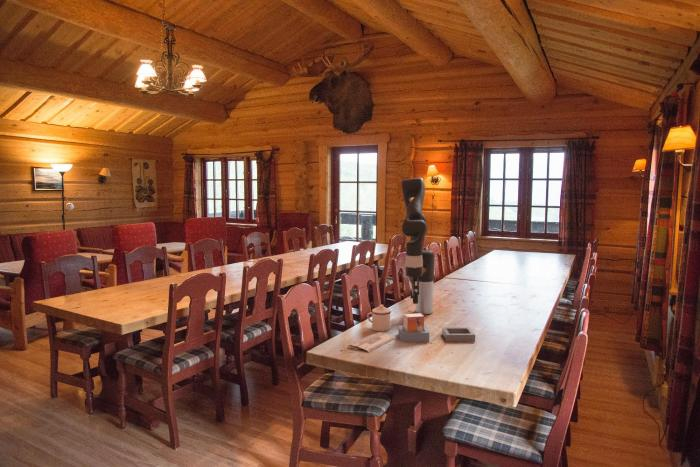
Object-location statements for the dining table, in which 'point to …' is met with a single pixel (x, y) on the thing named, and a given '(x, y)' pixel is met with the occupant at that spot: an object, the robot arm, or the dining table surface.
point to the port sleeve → (413, 335)
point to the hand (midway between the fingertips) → (414, 300)
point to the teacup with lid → (380, 318)
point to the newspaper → (372, 341)
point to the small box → (413, 322)
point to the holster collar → (458, 334)
